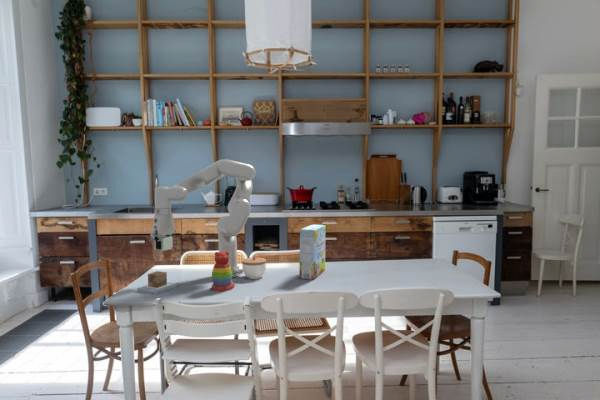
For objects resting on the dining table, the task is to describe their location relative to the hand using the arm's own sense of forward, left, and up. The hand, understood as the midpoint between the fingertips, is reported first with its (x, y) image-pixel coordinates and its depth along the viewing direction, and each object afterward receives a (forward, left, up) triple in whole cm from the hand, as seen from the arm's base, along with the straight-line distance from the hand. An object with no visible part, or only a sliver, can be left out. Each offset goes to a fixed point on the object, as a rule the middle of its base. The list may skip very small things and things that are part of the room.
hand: (163, 247), depth 208 cm
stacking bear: (-31, -5, -18) cm, 37 cm away
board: (-2, +7, -18) cm, 20 cm away
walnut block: (-2, +7, -17) cm, 18 cm away
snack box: (-60, -46, -18) cm, 78 cm away
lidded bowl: (-34, -29, -18) cm, 48 cm away
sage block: (0, 0, -1) cm, 1 cm away
